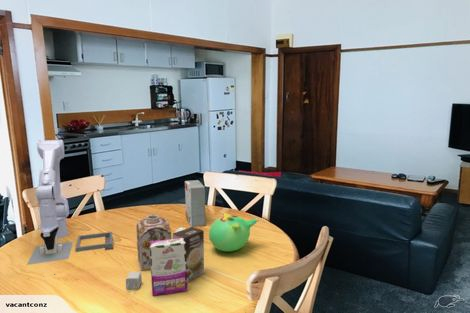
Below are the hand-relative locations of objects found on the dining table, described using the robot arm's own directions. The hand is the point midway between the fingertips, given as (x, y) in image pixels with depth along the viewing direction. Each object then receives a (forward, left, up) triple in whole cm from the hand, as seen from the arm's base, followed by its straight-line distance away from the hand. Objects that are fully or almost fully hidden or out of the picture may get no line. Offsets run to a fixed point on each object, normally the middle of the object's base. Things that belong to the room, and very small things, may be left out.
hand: (51, 247), depth 138 cm
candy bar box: (+43, +40, -3) cm, 59 cm away
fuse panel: (0, 0, -3) cm, 3 cm away
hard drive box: (-18, +63, -3) cm, 66 cm away
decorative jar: (+21, +38, -3) cm, 44 cm away
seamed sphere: (+7, +52, -3) cm, 53 cm away
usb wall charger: (+38, +29, -3) cm, 48 cm away
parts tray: (-4, +16, -3) cm, 17 cm away
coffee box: (+36, +48, -3) cm, 60 cm away
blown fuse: (0, 0, -2) cm, 2 cm away
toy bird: (+20, +69, -3) cm, 72 cm away
